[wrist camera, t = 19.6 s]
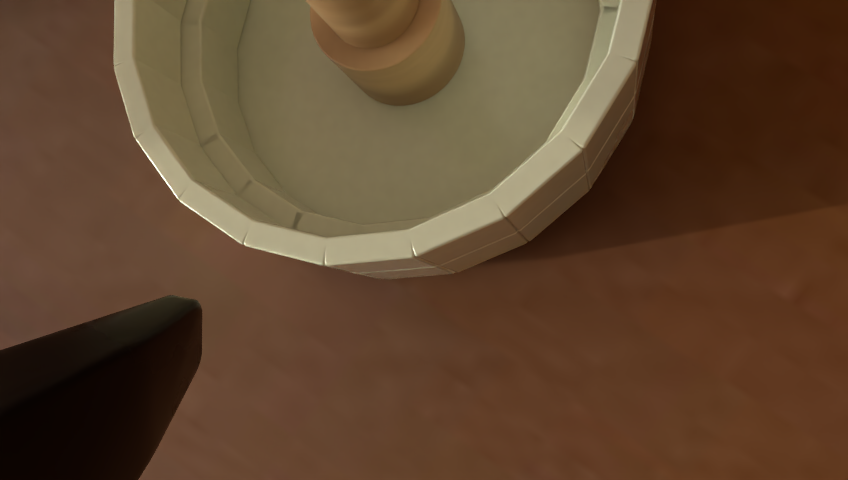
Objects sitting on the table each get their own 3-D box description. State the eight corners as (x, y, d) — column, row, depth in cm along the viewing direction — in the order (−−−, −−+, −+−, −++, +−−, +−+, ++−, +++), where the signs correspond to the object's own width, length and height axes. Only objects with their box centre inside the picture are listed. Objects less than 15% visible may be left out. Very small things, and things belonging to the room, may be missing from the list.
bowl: (585, 330, 19) (575, 330, 15) (166, 224, 24) (52, 197, 19) (695, -142, 20) (719, -287, 16) (274, -164, 25) (192, -284, 20)
